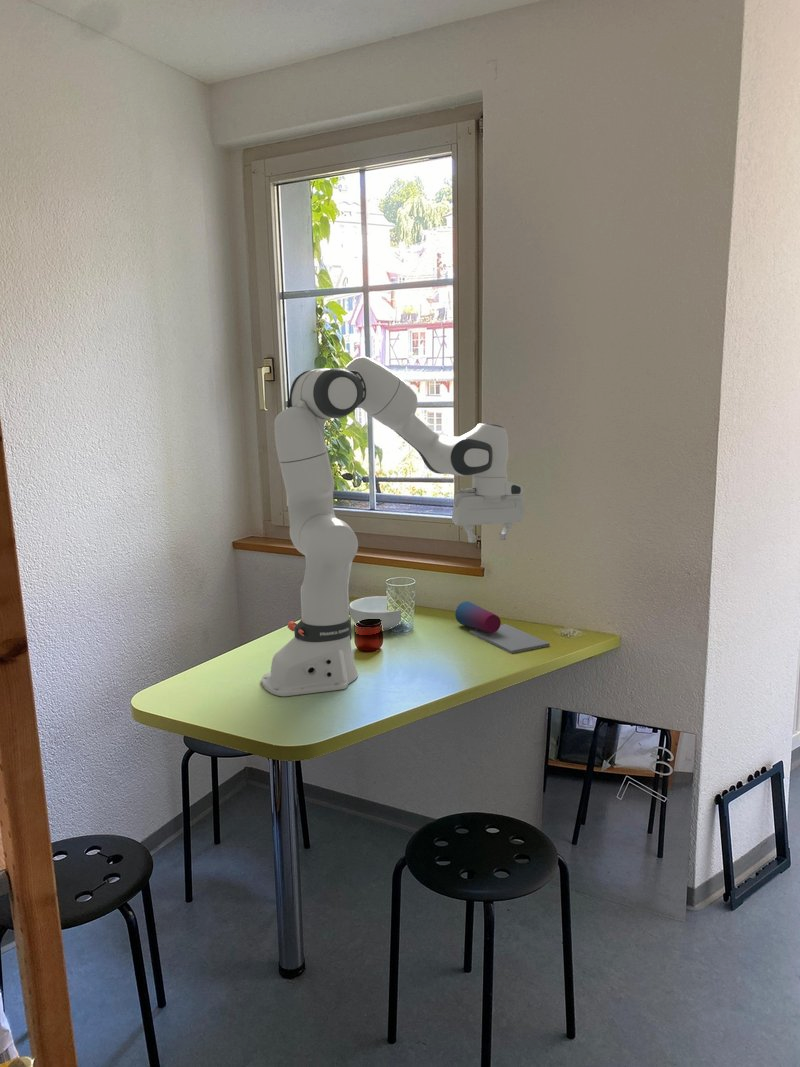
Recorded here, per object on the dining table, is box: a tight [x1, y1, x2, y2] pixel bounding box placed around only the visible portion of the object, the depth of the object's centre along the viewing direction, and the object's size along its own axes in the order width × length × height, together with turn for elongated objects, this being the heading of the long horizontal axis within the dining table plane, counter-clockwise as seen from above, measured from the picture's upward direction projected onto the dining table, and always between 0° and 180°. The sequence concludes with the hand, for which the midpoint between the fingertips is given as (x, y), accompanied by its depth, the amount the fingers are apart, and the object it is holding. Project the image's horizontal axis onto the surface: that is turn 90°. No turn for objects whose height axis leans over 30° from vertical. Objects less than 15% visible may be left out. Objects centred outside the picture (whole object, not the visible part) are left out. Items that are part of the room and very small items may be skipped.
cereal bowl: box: [349, 595, 401, 632], centre depth 228 cm, size 17×17×7 cm
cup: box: [454, 600, 502, 633], centre depth 222 cm, size 7×7×15 cm
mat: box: [469, 623, 551, 654], centre depth 215 cm, size 12×20×1 cm, turn 27°
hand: (487, 541), depth 206 cm, fingers open, 8 cm apart
